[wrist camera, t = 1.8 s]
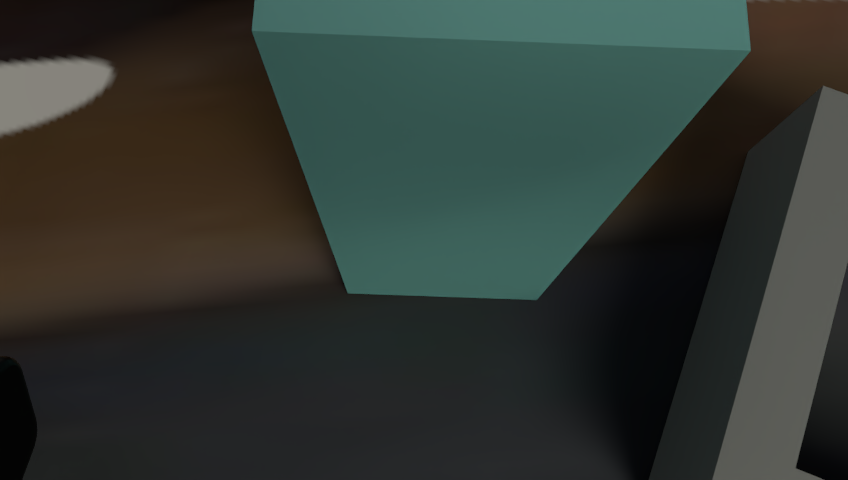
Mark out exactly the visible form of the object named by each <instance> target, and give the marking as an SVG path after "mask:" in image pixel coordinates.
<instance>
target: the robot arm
mask: <svg viewBox="0 0 848 480" xmlns="http://www.w3.org/2000/svg"><path fill="white" fill-rule="evenodd" d="M36 437H37V422H36V417H35V414H34V410H33V407H32V403H31V400H30V396H29V393H28V389H27V386H26V382H25V379H24V375H23V372H22V369H21V367H20V365H19V363H18V362H17V361H16V360H15V359H13V358H11V357H7V356H0V480H22V479H23V476H24V473H25V471H26V468H27V465H28V462H29V460H30V457H31V454H32V452H33V449H34V446H35V442H36Z"/></svg>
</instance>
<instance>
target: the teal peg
mask: <svg viewBox="0 0 848 480" xmlns="http://www.w3.org/2000/svg"><path fill="white" fill-rule="evenodd" d="M252 33H253V36H254V39H255V42H256V44H257V47H258V50H259V52H260V55H261V58H262V61H263V63H264V66H265V69H266V72H267V74H268V77H269V80H270V82H271V85H272V88H273V91H274V93H275V96H276V99H277V102H278V104H279V107H280V110H281V112H282V115H283V118H284V121H285V123H286V126H287V129H288V132H289V134H290V137H291V140H292V142H293V145H294V148H295V151H296V153H297V156H298V159H299V162H300V164H301V167H302V170H303V172H304V175H305V178H306V181H307V183H308V186H309V189H310V192H311V194H312V197H313V200H314V202H315V205H316V208H317V211H318V213H319V216H320V219H321V222H322V224H323V227H324V230H325V232H326V235H327V238H328V241H329V243H330V246H331V249H332V252H333V254H334V257H335V260H336V262H337V265H338V268H339V271H340V273H341V276H342V279H343V282H344V284H345V287H346V290H347V292H348V293H352V294H381V295H410V296H438V297H467V298H496V299H524V300H537V299H538V298H539V297H540V296H541V294H542V293H543V292H544V291H545V290H546V289H547V287H548V286H549V285H550V284H551V283H552V282H553V280H554V279H555V278H556V277H557V276H558V275H559V273H560V272H561V271H562V270H563V269H564V268H565V266H566V265H567V264H568V263H569V262H570V261H571V259H572V258H573V257H574V256H575V255H576V254H577V253H578V251H579V250H580V249H581V248H582V247H583V246H584V244H585V243H586V242H587V241H588V240H589V239H590V237H591V236H592V235H593V234H594V233H595V232H596V230H597V229H598V228H599V227H600V226H601V225H602V223H603V222H604V221H605V220H606V219H607V218H608V216H609V215H610V214H611V213H612V212H613V211H614V209H615V208H616V207H617V206H618V205H619V204H620V202H621V201H622V200H623V199H624V198H625V197H626V195H627V194H628V193H629V192H630V191H631V190H632V188H633V187H634V186H635V185H636V184H637V183H638V181H639V180H640V179H641V178H642V177H643V176H644V175H645V173H646V172H647V171H648V170H649V169H650V168H651V166H652V165H653V164H654V163H655V162H656V161H657V159H658V158H659V157H660V156H661V155H662V154H663V152H664V151H665V150H666V149H667V148H668V147H669V145H670V144H671V143H672V142H673V141H674V140H675V138H676V137H677V136H678V135H679V134H680V133H681V131H682V130H683V129H684V128H685V127H686V126H687V124H688V123H689V122H690V121H691V120H692V119H693V117H694V116H695V115H696V114H697V113H698V112H699V110H700V109H701V108H702V107H703V106H704V105H705V104H706V102H707V101H708V100H709V99H710V98H711V97H712V95H713V94H714V93H715V92H716V91H717V90H718V88H719V87H720V86H721V85H722V84H723V83H724V81H725V80H726V79H727V78H728V77H729V76H730V74H731V73H732V72H733V71H734V70H735V69H736V67H737V66H738V65H739V64H740V63H741V62H742V60H743V59H744V58H745V57H746V56H747V55H748V53H749V52H750V51H751V47H750V37H749V26H748V16H747V5H746V0H255V3H254V13H253V23H252Z"/></svg>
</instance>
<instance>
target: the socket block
mask: <svg viewBox="0 0 848 480" xmlns="http://www.w3.org/2000/svg"><path fill="white" fill-rule="evenodd" d="M847 263H848V94H845V93H842V92H839V91H836V90H834V89H831V88H828V87H825V86H822V87H821V88H820V89H819V90H818V91H817V92H815V93H814V94H813V95H812V96H811V97H810V98H809V99H807V100H806V101H805V102H804V103H803V104H802V105H801V106H799V107H798V108H797V109H796V110H795V111H794V112H793V113H791V114H790V115H789V116H788V117H787V118H786V119H785V120H783V121H782V122H781V123H780V124H779V125H778V126H777V127H775V128H774V129H773V130H772V131H771V132H770V133H769V134H767V135H766V136H765V137H764V138H763V139H762V140H761V141H759V142H758V143H757V144H756V145H755V146H754V147H753V148H752V149H750V150H749V151H748V153H747V157H746V160H745V163H744V167H743V170H742V173H741V176H740V180H739V183H738V186H737V190H736V193H735V196H734V200H733V203H732V206H731V209H730V213H729V216H728V219H727V223H726V226H725V229H724V232H723V236H722V239H721V242H720V246H719V249H718V252H717V256H716V259H715V262H714V265H713V269H712V272H711V275H710V279H709V282H708V285H707V289H706V292H705V295H704V298H703V302H702V305H701V308H700V312H699V315H698V318H697V322H696V325H695V328H694V331H693V335H692V338H691V341H690V345H689V348H688V351H687V354H686V358H685V361H684V364H683V368H682V371H681V374H680V378H679V381H678V384H677V387H676V391H675V394H674V397H673V401H672V404H671V407H670V411H669V414H668V417H667V420H666V424H665V427H664V430H663V434H662V437H661V440H660V444H659V447H658V450H657V453H656V457H655V460H654V463H653V467H652V470H651V473H650V476H649V480H824V479H821V478H819V477H816V476H814V475H811V474H809V473H806V472H804V471H801V470H799V469H796V464H797V460H798V456H799V452H800V448H801V444H802V440H803V436H804V433H805V429H806V425H807V421H808V417H809V413H810V409H811V405H812V401H813V397H814V393H815V389H816V385H817V381H818V377H819V373H820V369H821V365H822V362H823V358H824V354H825V350H826V346H827V342H828V338H829V334H830V330H831V326H832V322H833V318H834V314H835V310H836V306H837V302H838V298H839V294H840V291H841V287H842V283H843V279H844V275H845V271H846V267H847Z"/></svg>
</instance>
